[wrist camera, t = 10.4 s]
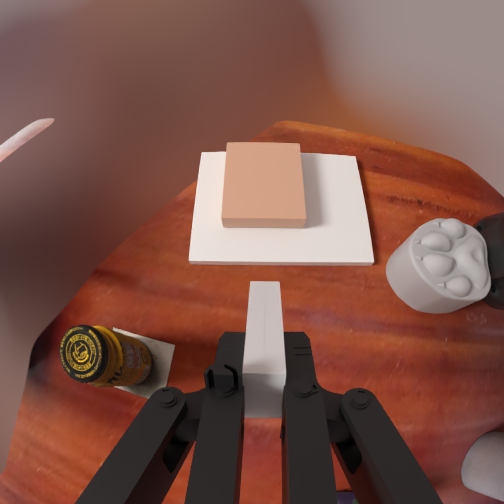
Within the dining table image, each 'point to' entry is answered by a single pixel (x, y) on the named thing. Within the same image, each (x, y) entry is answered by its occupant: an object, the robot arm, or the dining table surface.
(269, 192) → the tile
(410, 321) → the dining table surface
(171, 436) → the robot arm
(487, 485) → the pillar candle
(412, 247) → the lumpy-topped squat cylinder
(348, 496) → the flask
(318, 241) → the board
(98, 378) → the condiment
